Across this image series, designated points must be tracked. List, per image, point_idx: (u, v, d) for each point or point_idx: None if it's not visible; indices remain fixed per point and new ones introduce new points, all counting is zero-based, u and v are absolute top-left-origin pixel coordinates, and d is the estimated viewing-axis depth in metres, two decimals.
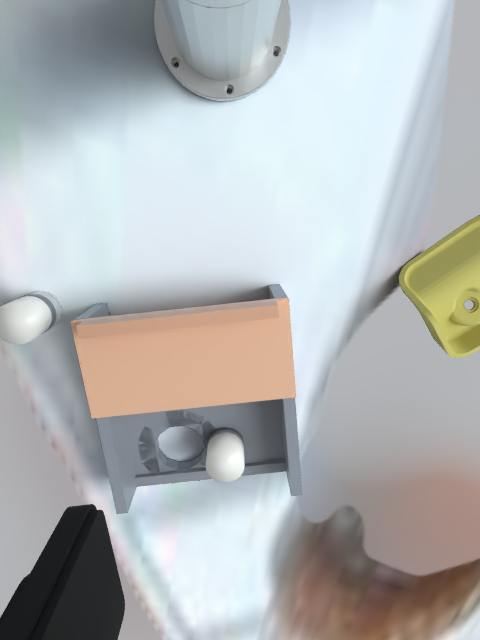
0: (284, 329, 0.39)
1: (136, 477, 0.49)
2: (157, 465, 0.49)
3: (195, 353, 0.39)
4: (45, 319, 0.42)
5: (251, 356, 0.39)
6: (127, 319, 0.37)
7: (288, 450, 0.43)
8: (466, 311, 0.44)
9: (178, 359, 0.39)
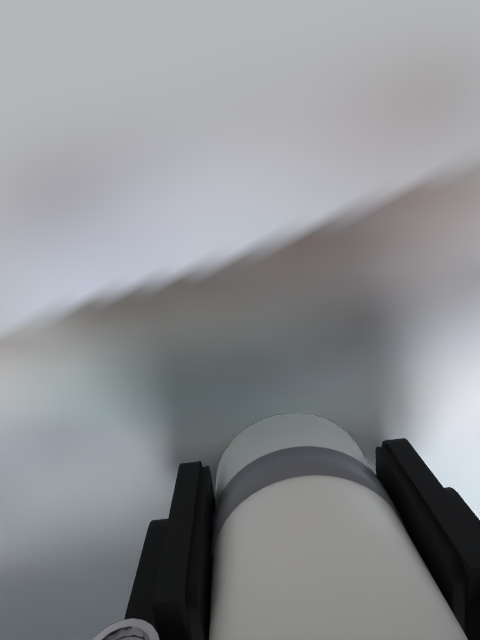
0: None
1: None
2: None
3: None
4: None
5: None
6: None
7: None
8: None
9: None
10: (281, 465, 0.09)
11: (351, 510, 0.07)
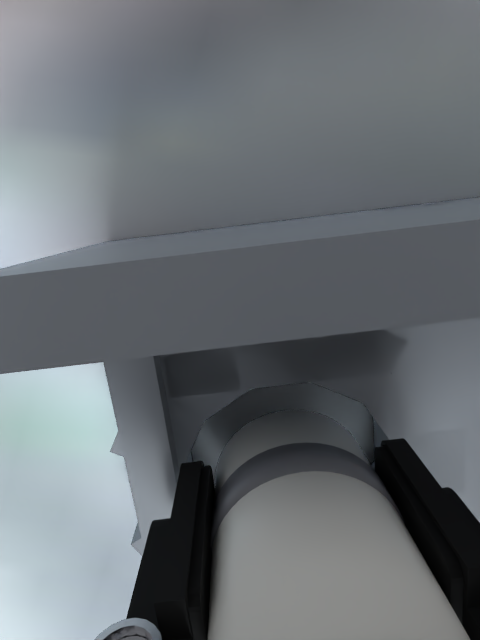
0: None
1: None
2: (202, 389, 0.11)
3: None
4: None
5: None
6: None
7: None
8: None
9: None
10: (281, 461, 0.09)
11: (350, 506, 0.07)
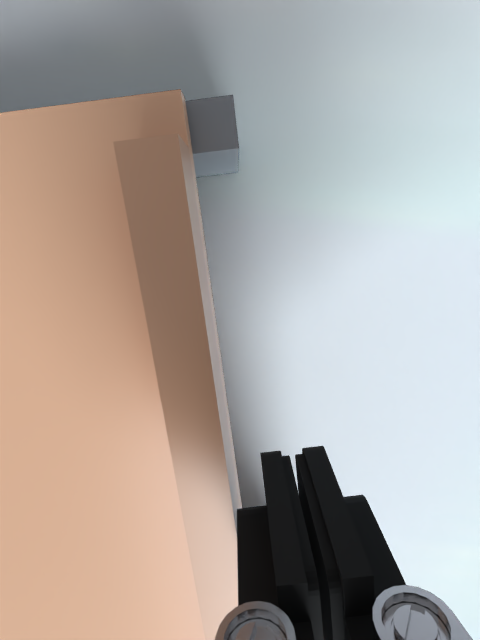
0: None
1: None
2: None
3: (93, 533, 0.12)
4: None
5: None
6: (211, 352, 0.09)
7: None
8: None
9: (64, 484, 0.11)
10: None
11: None
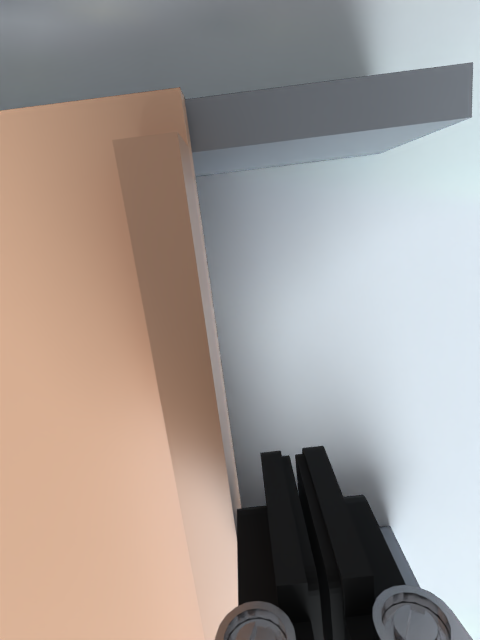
0: None
1: None
2: None
3: (92, 533, 0.12)
4: None
5: None
6: (211, 352, 0.09)
7: None
8: None
9: (63, 484, 0.11)
10: None
11: None
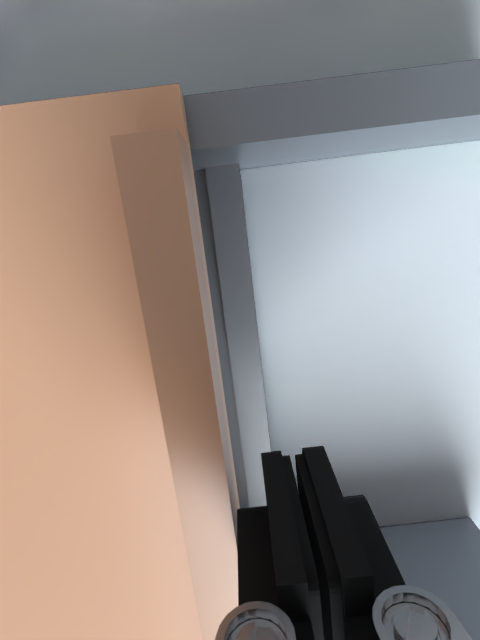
0: None
1: None
2: None
3: (89, 536, 0.12)
4: None
5: None
6: (210, 352, 0.09)
7: None
8: None
9: (59, 485, 0.11)
10: None
11: None
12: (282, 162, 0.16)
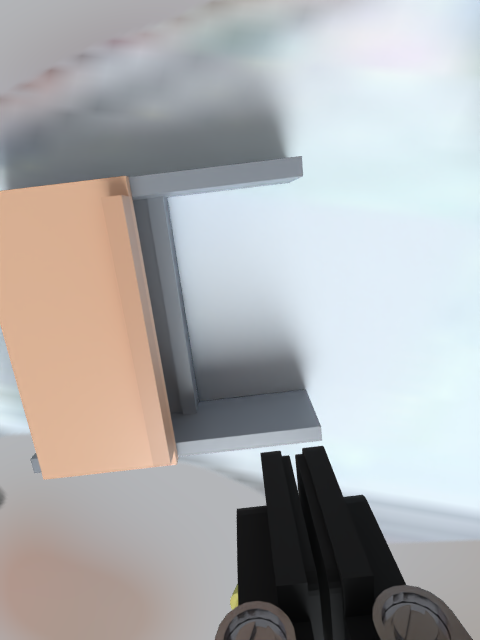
0: (136, 461, 0.30)
1: None
2: None
3: (93, 354, 0.28)
4: None
5: (95, 424, 0.29)
6: (136, 270, 0.25)
7: None
8: None
9: (81, 331, 0.28)
10: None
11: None
12: (187, 194, 0.32)
